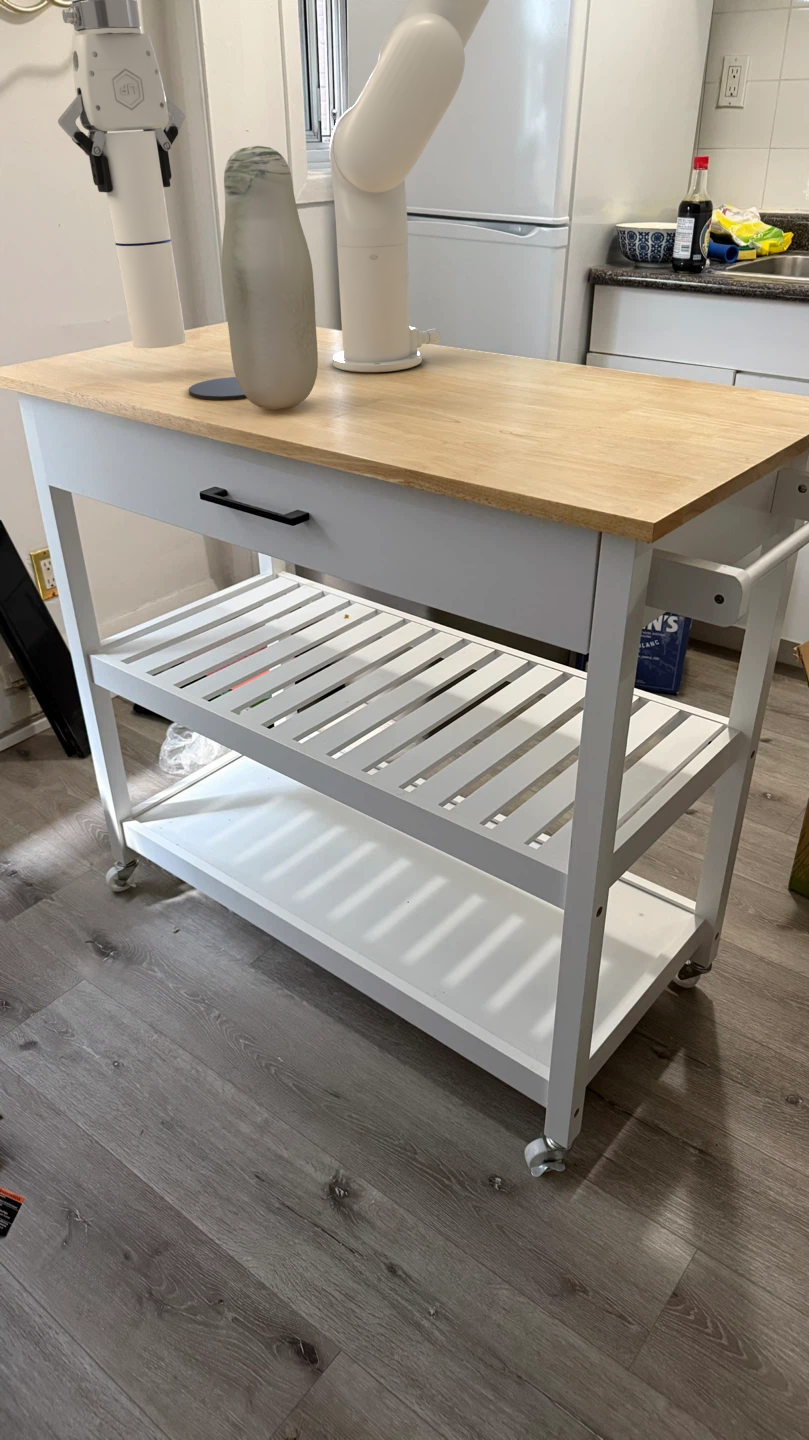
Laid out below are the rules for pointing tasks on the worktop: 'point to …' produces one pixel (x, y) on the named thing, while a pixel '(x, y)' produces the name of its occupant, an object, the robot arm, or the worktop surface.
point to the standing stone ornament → (267, 281)
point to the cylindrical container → (143, 240)
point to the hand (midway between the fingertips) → (134, 188)
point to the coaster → (217, 389)
